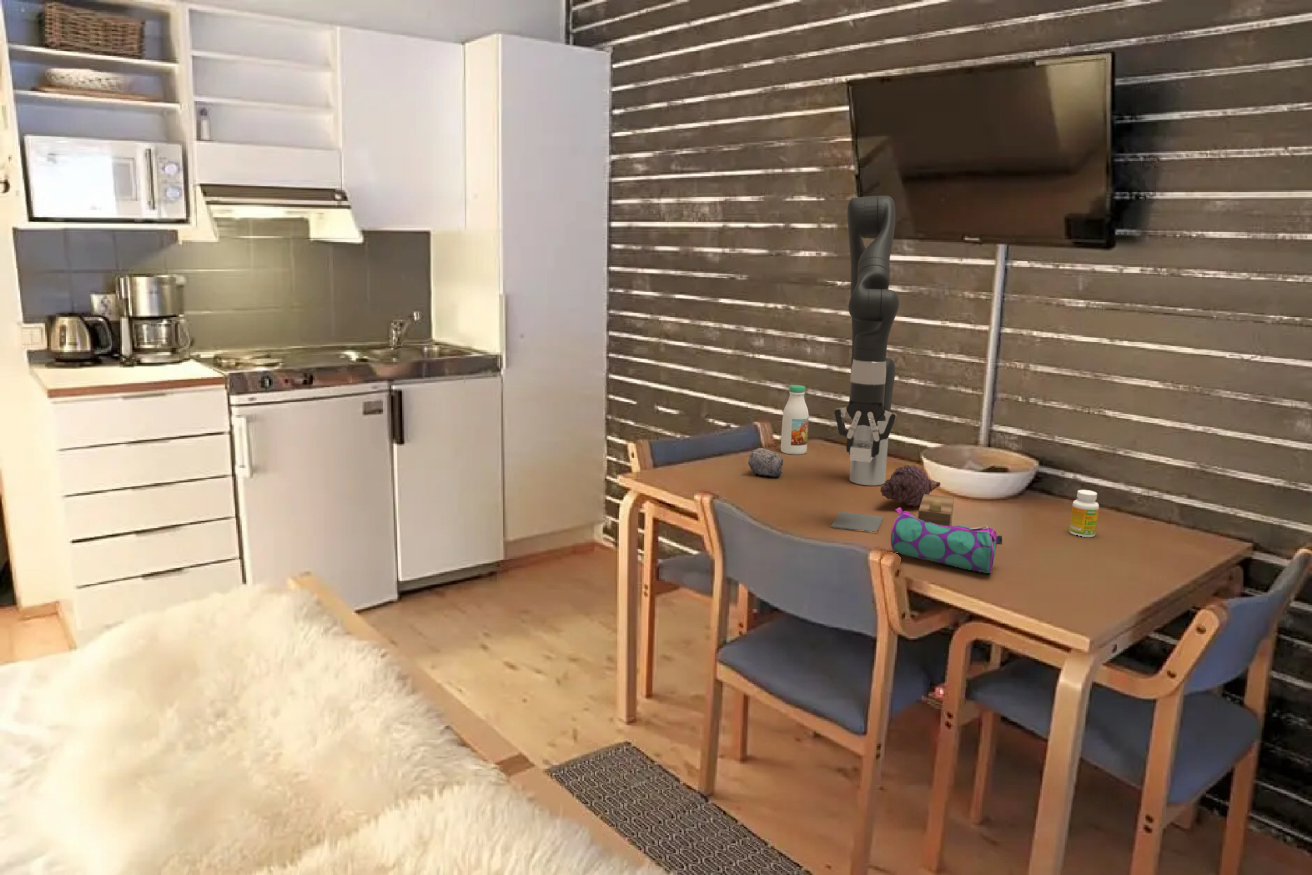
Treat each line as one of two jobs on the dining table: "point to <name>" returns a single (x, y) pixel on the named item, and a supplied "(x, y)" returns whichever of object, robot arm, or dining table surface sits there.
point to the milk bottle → (795, 422)
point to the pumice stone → (765, 462)
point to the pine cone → (908, 485)
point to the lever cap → (861, 451)
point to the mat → (857, 522)
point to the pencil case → (945, 542)
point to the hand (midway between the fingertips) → (862, 455)
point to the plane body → (936, 509)
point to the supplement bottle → (1084, 514)
